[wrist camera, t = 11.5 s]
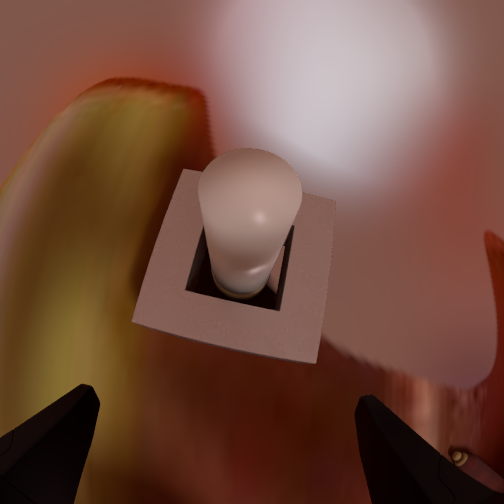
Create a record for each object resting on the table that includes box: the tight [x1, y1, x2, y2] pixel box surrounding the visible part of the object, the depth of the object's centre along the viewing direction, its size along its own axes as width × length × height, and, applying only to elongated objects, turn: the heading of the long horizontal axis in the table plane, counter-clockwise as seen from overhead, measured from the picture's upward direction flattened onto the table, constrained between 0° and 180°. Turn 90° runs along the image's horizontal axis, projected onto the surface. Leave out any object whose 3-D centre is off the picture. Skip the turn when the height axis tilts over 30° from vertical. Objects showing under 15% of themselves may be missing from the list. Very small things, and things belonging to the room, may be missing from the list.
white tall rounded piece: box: [198, 148, 302, 301], centre depth 18 cm, size 4×4×12 cm
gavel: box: [452, 451, 504, 493], centre depth 15 cm, size 21×5×10 cm
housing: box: [132, 169, 336, 364], centre depth 22 cm, size 12×12×4 cm
